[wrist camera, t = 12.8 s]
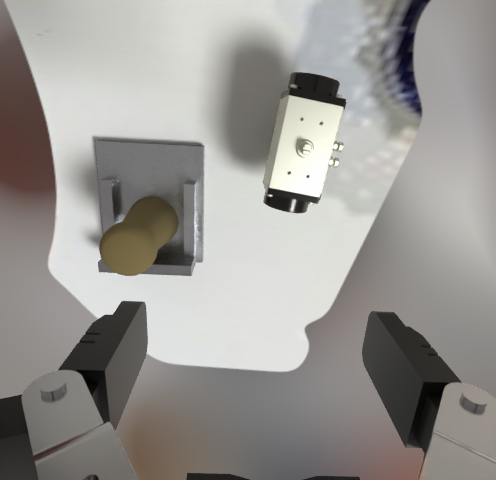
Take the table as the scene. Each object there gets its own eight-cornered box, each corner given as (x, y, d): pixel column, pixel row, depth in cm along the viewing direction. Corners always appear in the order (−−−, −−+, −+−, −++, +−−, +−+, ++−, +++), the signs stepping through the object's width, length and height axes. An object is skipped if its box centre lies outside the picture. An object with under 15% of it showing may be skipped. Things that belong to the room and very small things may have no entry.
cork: (158, 254, 42) (131, 297, 32) (117, 223, 41) (75, 258, 31) (188, 219, 41) (171, 252, 31) (148, 185, 40) (114, 208, 29)
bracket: (98, 140, 39) (78, 143, 34) (204, 146, 39) (199, 149, 34) (108, 255, 43) (91, 271, 39) (203, 259, 44) (198, 276, 39)
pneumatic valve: (258, 187, 41) (264, 212, 30) (279, 82, 37) (296, 65, 26) (302, 196, 41) (325, 224, 30) (328, 92, 38) (366, 80, 26)
